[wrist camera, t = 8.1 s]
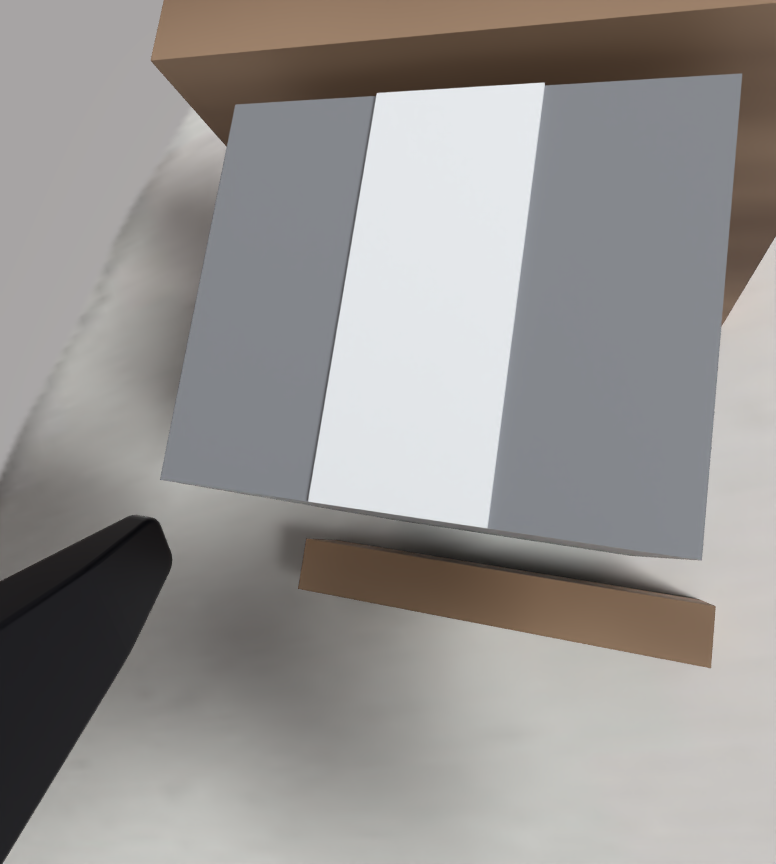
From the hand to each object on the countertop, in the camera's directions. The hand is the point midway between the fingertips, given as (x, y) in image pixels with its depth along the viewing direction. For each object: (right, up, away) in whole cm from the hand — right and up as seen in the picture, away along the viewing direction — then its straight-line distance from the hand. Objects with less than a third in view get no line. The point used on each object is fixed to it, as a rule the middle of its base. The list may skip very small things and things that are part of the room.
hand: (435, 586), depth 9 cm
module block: (+3, +2, +8) cm, 8 cm away
